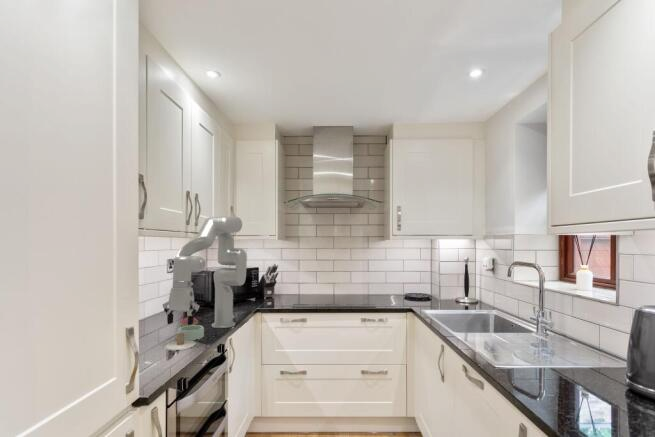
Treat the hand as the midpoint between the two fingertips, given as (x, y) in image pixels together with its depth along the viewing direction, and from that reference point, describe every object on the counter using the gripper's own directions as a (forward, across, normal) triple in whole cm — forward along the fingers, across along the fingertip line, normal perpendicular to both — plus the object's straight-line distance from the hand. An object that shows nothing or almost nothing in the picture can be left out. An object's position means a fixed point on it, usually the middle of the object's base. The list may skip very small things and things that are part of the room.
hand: (180, 324), depth 158 cm
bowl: (+10, +4, -15) cm, 18 cm away
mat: (+10, 0, -1) cm, 10 cm away
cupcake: (+10, +12, -27) cm, 31 cm away
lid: (+10, 0, -1) cm, 10 cm away
